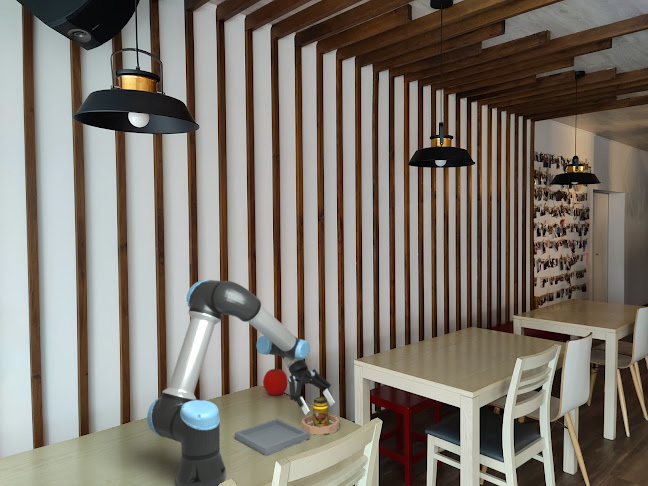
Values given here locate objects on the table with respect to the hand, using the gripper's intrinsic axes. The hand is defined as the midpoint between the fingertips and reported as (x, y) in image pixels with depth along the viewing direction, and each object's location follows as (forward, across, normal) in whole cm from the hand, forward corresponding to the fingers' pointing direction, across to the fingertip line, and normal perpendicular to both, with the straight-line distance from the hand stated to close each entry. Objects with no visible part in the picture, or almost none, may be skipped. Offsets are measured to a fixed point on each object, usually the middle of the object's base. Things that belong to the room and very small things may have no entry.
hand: (320, 408), depth 191 cm
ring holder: (+6, +1, -5) cm, 7 cm away
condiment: (+6, +1, -5) cm, 8 cm away
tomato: (-27, -12, -38) cm, 48 cm away
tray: (+2, +21, -8) cm, 22 cm away
